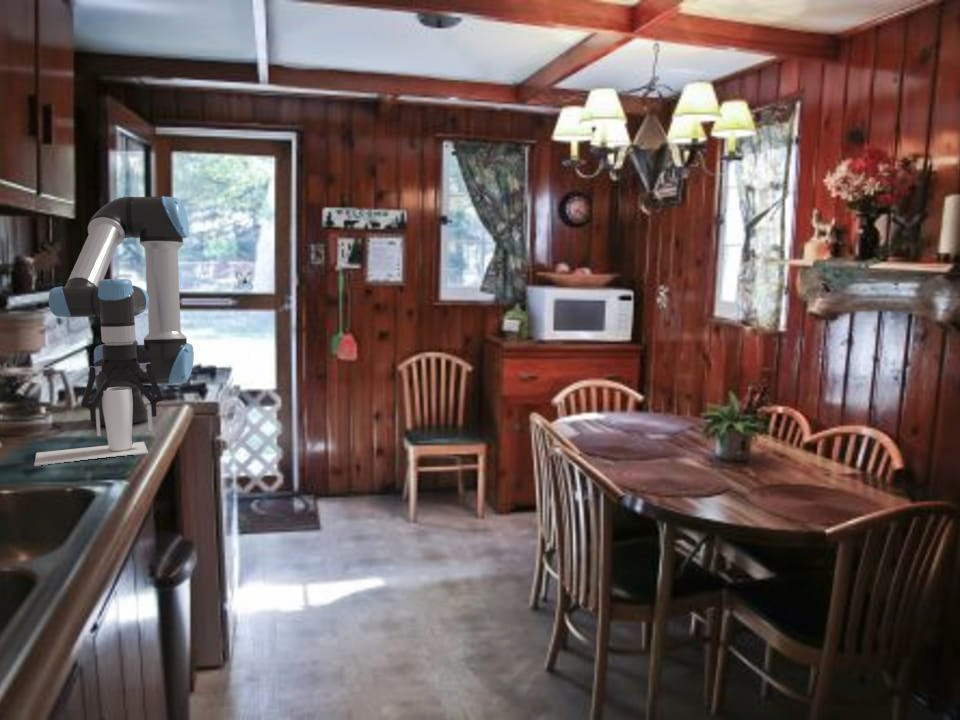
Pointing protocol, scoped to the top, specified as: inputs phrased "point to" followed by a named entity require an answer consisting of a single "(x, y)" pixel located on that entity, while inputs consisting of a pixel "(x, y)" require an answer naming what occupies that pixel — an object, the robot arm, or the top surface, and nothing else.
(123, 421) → the white cup
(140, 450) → the rubber mat
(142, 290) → the robot arm
